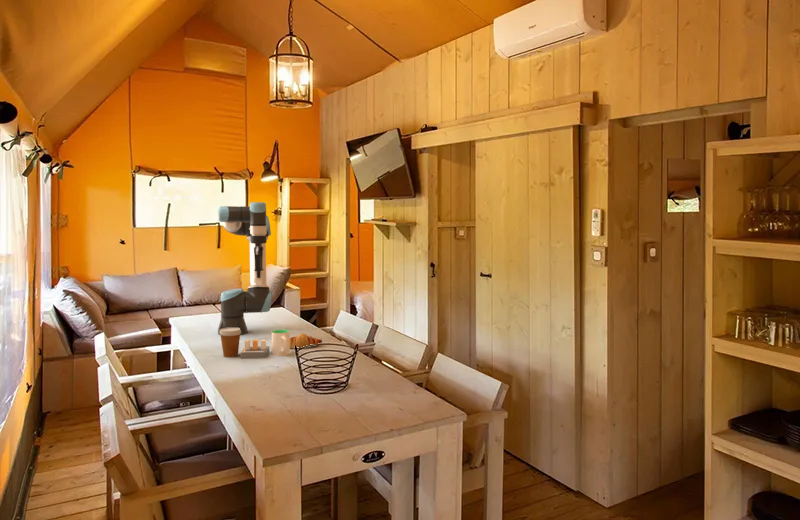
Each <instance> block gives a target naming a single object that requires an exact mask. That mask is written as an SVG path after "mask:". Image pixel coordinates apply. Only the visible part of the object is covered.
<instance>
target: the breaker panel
mask: <svg viewBox="0 0 800 520" xmlns="http://www.w3.org/2000/svg"><path fill="white" fill-rule="evenodd" d="M269 353H270V346H267V345H266V349H265V350H261V345H260V346H259V345H258V349H257V350H253V346H250V350H245V347H243V350H242V351H241V352H240V359H267V358H268V356H269Z"/></svg>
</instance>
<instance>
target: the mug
mask: <svg viewBox="0 0 800 520" xmlns="http://www.w3.org/2000/svg"><path fill="white" fill-rule="evenodd" d="M290 335H291V334H290V329H274V330H272V331H271V356H277V357H282V356H283V357H284V356H288V355H290V353H291V352H290V351H291V349H290V338H291V337H290Z"/></svg>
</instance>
